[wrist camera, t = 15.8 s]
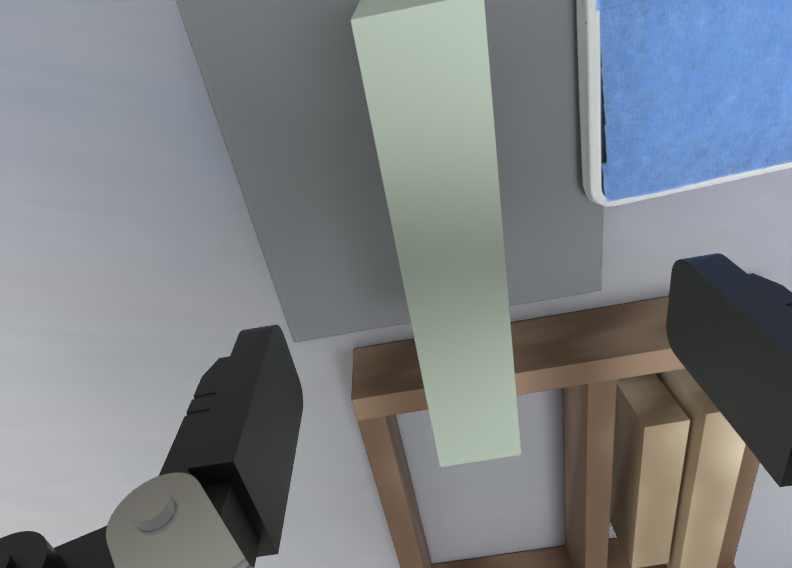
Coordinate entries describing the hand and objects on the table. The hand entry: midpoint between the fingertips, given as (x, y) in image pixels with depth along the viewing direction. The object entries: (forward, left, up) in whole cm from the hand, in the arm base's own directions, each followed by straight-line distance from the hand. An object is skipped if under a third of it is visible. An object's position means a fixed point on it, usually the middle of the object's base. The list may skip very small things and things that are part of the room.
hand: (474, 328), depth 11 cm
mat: (0, 0, -11) cm, 11 cm away
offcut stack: (-10, +18, -11) cm, 23 cm away
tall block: (0, 0, -11) cm, 11 cm away
